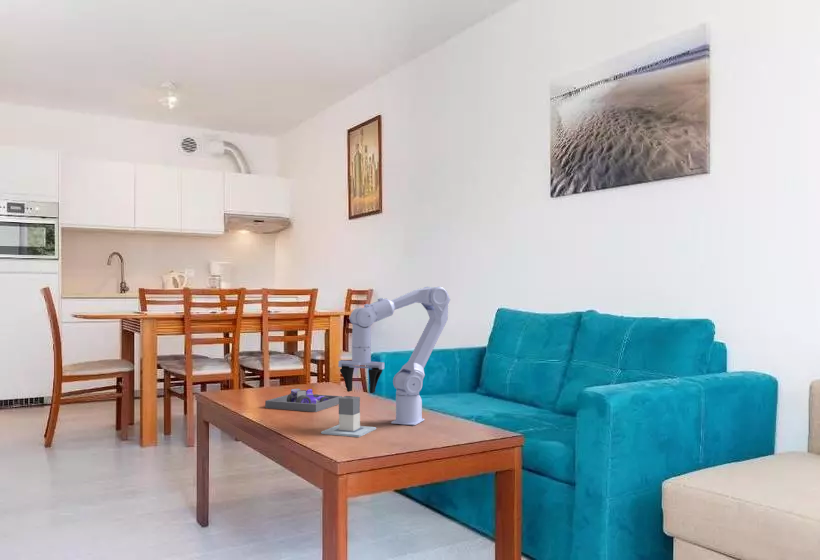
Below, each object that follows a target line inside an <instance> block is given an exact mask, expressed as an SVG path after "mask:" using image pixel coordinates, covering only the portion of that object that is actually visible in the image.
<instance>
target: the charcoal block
mask: <svg viewBox="0 0 820 560" xmlns="http://www.w3.org/2000/svg"><path fill="white" fill-rule="evenodd" d="M357 413H360V414H361V397H360V396H355V395H353V396H351V395H344V396H342V397H341V398H339V404H338V415H339V414H344V415H355V414H357Z"/></svg>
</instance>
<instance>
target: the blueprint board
mask: <svg viewBox="0 0 820 560" xmlns="http://www.w3.org/2000/svg"><path fill="white" fill-rule="evenodd" d="M375 430H377V426H368V425H367V426H365V425H360V428H359V429H357V430H355V431H347V430H339V424H337V425H334V426H332V427H329V428H326V429H325V430H324V429H323V430H322V431H320V432H321V433H320V434H323V435H330V436H331V435H332V436H341V437H342V436H343V437H351V438H352V437H353V438H361V437H362V436H364V435H365V436H366V435H367V434H370V433H372V432H373V431H375Z"/></svg>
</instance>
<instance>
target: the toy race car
mask: <svg viewBox="0 0 820 560" xmlns="http://www.w3.org/2000/svg"><path fill="white" fill-rule="evenodd" d="M313 394H314V392H313V389H312V388H309V389H307V390H306V389H300V388H298V387H297V388H291V389H290V393H289V394H287V395H288V397H287V402H295V403H308V404H316V403H320V402H323V401H326V400H329V398H328V397H326V396H320V395H321V394H318V393H317V394H316V393H315V395H313Z"/></svg>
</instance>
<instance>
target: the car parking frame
mask: <svg viewBox="0 0 820 560" xmlns="http://www.w3.org/2000/svg"><path fill="white" fill-rule="evenodd" d="M315 394H316V393H315ZM315 394H314V393H313V395H315ZM288 395H289V394H286V395H282V396H278V397H274V398H270V399H267V400H265V405H264V408H265V409H275V410H286V411H287V410H289V411H298V412H311V413H317V412H320V411H323V410H326V409H328V408H332V407H334V406H337V405H338V406H339V398H341V397H343V396H342V395H330V394H329V395H327V394H319V395H320V396H326V397H328V398H329V400H326V401H323V402H320V403H316V404H308V403H295V402H287V397H288Z"/></svg>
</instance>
